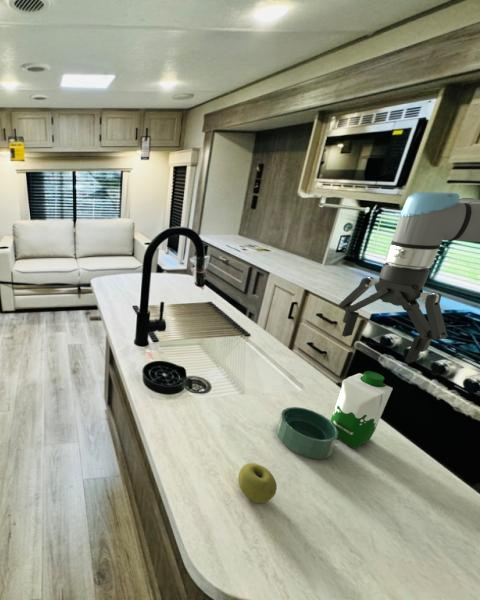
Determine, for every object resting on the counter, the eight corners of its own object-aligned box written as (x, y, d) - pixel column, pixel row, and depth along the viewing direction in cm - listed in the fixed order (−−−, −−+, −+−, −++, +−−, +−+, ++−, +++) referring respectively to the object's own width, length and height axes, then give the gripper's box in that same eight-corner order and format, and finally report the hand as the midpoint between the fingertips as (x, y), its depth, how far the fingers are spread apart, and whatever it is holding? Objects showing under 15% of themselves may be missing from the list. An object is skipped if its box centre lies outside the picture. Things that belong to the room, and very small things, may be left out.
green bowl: (324, 431, 91) (330, 413, 89) (337, 466, 80) (345, 447, 77) (273, 419, 96) (278, 402, 93) (280, 451, 85) (285, 433, 82)
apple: (244, 510, 70) (250, 487, 67) (230, 478, 78) (235, 457, 75) (279, 511, 70) (286, 489, 67) (261, 479, 77) (267, 458, 74)
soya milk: (374, 441, 87) (400, 382, 80) (355, 452, 84) (380, 391, 76) (340, 420, 95) (360, 364, 87) (321, 430, 91) (340, 372, 84)
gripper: (336, 254, 80) (315, 328, 88) (477, 283, 58) (432, 378, 65) (356, 252, 82) (334, 324, 90) (500, 278, 60) (454, 371, 68)
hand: (376, 347), depth 78 cm, fingers open, 13 cm apart
